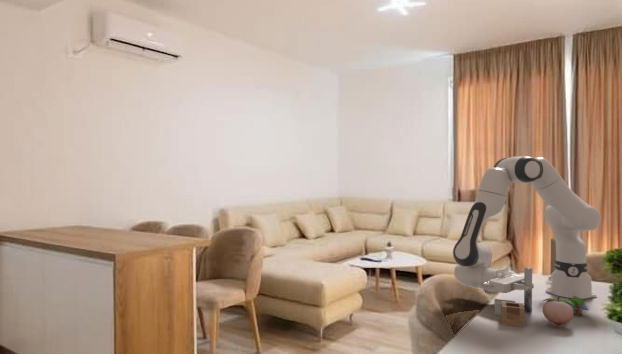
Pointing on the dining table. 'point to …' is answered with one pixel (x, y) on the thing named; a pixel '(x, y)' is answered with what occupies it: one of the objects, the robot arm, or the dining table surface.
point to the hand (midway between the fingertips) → (530, 287)
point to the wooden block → (553, 255)
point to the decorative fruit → (558, 311)
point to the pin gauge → (529, 292)
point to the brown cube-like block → (512, 313)
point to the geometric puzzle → (578, 305)
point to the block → (499, 306)
